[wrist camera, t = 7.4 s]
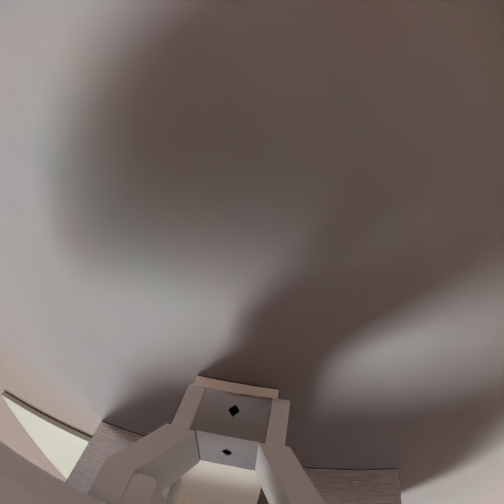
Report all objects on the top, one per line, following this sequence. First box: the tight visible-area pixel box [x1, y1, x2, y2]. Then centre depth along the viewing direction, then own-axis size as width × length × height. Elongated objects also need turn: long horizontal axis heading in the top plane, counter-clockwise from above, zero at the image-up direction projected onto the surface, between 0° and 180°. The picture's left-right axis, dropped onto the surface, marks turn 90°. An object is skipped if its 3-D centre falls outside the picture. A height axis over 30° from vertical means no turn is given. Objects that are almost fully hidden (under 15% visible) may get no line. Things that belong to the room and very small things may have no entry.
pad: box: [1, 392, 91, 479], centre depth 20 cm, size 10×20×1 cm, turn 177°
